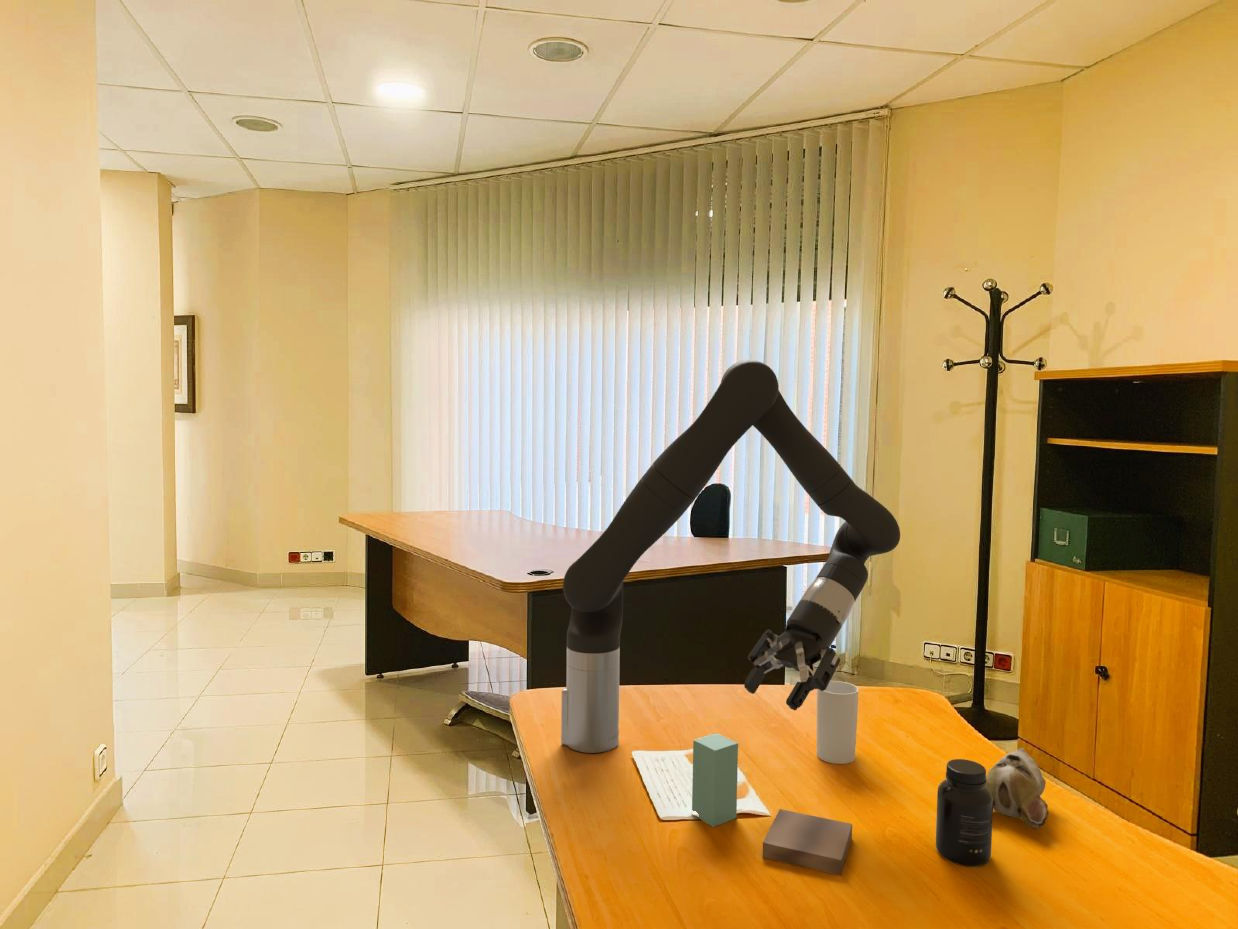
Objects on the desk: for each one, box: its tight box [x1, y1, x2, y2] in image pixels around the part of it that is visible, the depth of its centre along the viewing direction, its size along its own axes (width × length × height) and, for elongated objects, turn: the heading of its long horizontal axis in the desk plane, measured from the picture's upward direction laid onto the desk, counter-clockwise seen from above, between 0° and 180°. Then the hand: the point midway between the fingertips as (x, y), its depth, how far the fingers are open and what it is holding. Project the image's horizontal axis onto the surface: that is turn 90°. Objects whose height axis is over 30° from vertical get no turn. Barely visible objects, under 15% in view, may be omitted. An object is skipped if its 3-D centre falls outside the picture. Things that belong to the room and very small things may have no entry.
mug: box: [816, 680, 859, 765], centre depth 140 cm, size 10×7×12 cm, turn 148°
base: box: [762, 808, 853, 876], centre depth 110 cm, size 10×10×2 cm
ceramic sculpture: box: [985, 747, 1049, 829], centre depth 120 cm, size 11×9×15 cm
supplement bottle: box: [935, 758, 994, 867], centre depth 108 cm, size 7×7×12 cm
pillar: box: [691, 732, 739, 828], centre depth 118 cm, size 4×4×11 cm
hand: (768, 698), depth 124 cm, fingers open, 8 cm apart
